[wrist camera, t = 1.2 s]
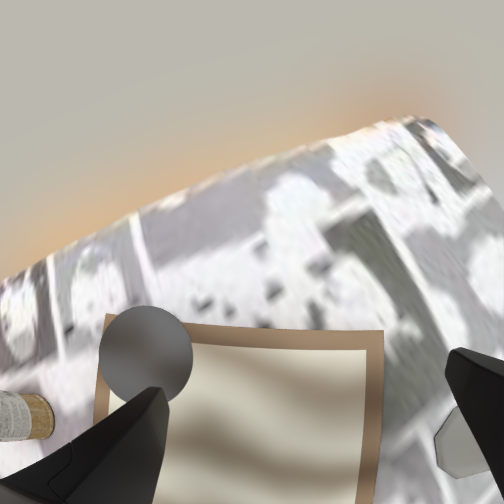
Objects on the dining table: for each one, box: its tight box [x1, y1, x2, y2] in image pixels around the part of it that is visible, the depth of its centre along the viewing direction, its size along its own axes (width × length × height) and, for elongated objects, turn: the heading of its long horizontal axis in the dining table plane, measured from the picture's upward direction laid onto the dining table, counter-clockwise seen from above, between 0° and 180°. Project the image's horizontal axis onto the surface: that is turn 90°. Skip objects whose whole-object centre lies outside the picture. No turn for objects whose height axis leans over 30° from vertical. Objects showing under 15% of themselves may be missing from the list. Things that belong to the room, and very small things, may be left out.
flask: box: [435, 407, 490, 479], centre depth 13 cm, size 7×7×10 cm
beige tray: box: [93, 306, 384, 504], centre depth 19 cm, size 21×22×1 cm
